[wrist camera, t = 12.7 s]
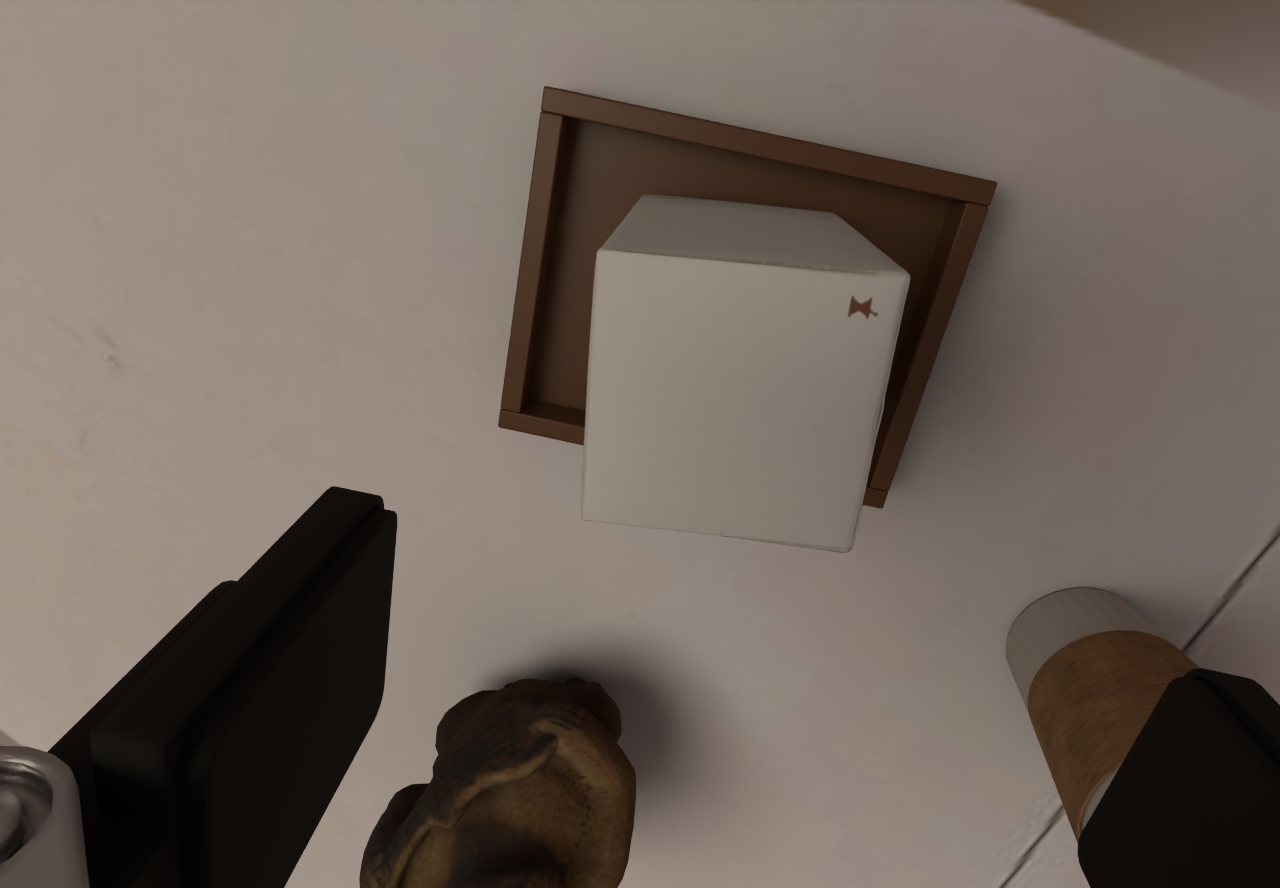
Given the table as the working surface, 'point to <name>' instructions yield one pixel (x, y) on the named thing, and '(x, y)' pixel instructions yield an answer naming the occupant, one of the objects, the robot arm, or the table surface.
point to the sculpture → (514, 796)
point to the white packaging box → (737, 371)
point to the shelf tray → (727, 171)
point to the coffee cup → (1088, 686)
